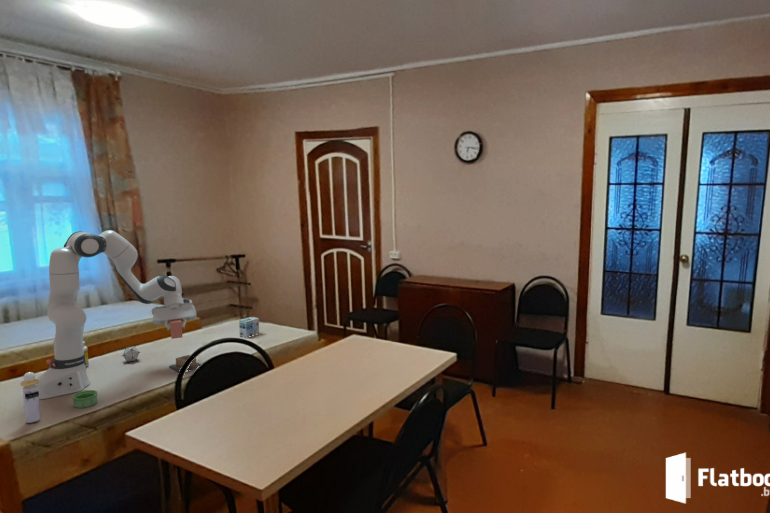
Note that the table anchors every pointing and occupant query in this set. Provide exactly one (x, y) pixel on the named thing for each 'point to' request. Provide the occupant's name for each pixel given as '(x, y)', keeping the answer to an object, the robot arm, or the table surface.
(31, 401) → the perfume bottle
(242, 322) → the light bulb box
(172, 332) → the red block
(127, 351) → the game die
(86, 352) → the supplement bottle
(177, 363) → the tower base
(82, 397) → the ramekin
